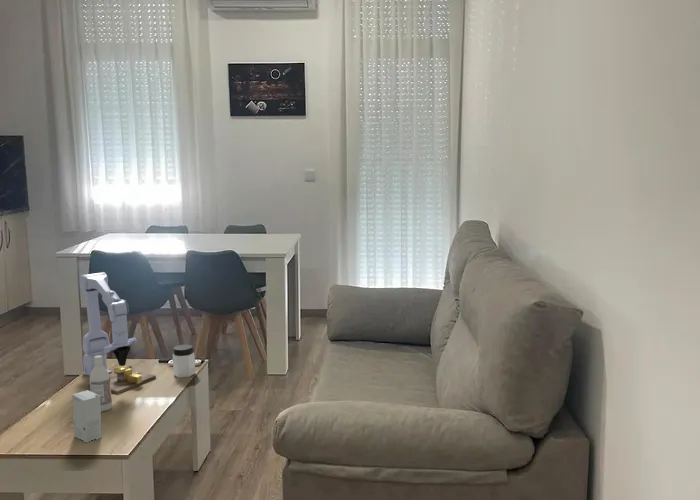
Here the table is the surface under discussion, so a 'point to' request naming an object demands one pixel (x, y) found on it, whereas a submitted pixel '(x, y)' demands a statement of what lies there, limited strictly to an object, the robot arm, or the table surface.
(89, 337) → the robot arm
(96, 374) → the bath foam
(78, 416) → the skincare box
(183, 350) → the jar
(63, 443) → the table surface
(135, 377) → the door handle
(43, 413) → the table surface
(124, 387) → the base
